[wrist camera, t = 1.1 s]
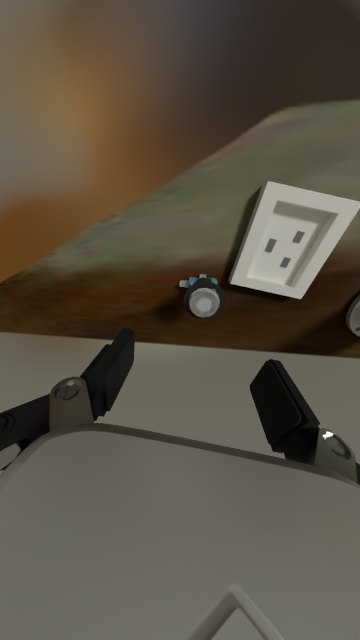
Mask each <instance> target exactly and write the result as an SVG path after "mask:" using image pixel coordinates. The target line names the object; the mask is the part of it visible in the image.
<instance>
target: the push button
mask: <svg viewBox="0 0 360 640" xmlns="http://www.w3.org/2000/svg"><path fill="white" fill-rule="evenodd" d="M182 283H183V284H182ZM182 285H183V286H182ZM180 287H186V288H188V289H187V291H186V293H185V295H184V307H185V309H186V311H187V312H188V313H189V314H190V315H191V316H193V317H194V318H197V319H210V318H213V317H215V316H216V315H218V314H219V313H220V312H221V310H222V309H223V307H224V304H225V296H224V293H223V291H222V289H221V288H220V287H219V286H218V285H217V280H216V278H206V275H205V274H200V278H193V277H190V278H189V280H186V281H180ZM216 291H217V292H218V294H219V297H218V294H217V293H216ZM190 294H191V296H190V298H189V295H190Z"/></svg>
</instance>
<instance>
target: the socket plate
mask: <svg viewBox="0 0 360 640" xmlns="http://www.w3.org/2000/svg"><path fill="white" fill-rule="evenodd" d="M359 208H360V202H358V201H354V200H350V199H345V198H341V197H336V196H332V195H327V194H323V193H318V192H314V191H309V190H305V189H300V188H296V187H292V186H287V185H283V184H278V183H274V182H269V181H268V182H266V183H265V184H264V185H262V187H261V190H260V192H259V195H258V198H257V201H256V204H255V206H254V209H253V212H252V215H251V218H250V220H249V223H248V226H247V229H246V232H245V234H244V237H243V240H242V243H241V246H240V249H239V251H238V254H237V257H236V260H235V263H234V265H233V268H232V271H231V274H230V277H229V279H228V281H229V282H230V284H234V285H239V286H243V287H248V288H253V289H257V290H262V291H266V292H271V293H275V294H280V295H284V296H289V297H293V298H298V299H301V298H302V297H303V295H304V294H305V292H306V291H307V289H308V287H309V286H310V284H311V283H312V281H313V280H314V278H315V277H316V275H317V273H318V272H319V270H320V269H321V267H322V266H323V264H324V263H325V261H326V260H327V258H328V256H329V255H330V253H331V252H332V250H333V249H334V247H335V246H336V244H337V242H338V241H339V239H340V238H341V236H342V235H343V233H344V232H345V230H346V229H347V227H348V225H349V224H350V222H351V221H352V219H353V218H354V216H355V215H356V213H357V211H358V210H359Z"/></svg>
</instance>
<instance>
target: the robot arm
mask: <svg viewBox="0 0 360 640" xmlns="http://www.w3.org/2000/svg"><path fill="white" fill-rule="evenodd" d="M346 324H347V326H348V328H349V329H350V330H351V332H353V333H354V334H356V335H357V336H360V294H359V296H358V297H357V298H356V299H355V300H354V301H353V303H352V304H351V306H350V307H349V310H348V312H347V315H346ZM134 343H135V332H133V330H132V329H127V328H123V329H122V331H121V332H120V333H119V335H118V336H117V337H116V338H115V340H114V341H113V342H112V344H111V345H109V344H107V345H105V346H104V348H103V349H102V350H101V351H100V353H99V354H98V355H97V356H96V357H95V359H94V360H93V361H92V362H91V364H90V365H89V366H88V367H87V368H86V370H85V371H84V372H83V373H82V375H81V376H80V377H70V378H66V379H64V380H62V381H60V382H59V383H57V384H56V385H55V386H54V387H53V388H52V390H51V392H50V394H48V395H45V396H43V397H40V398H38V399H35V400H32V401H30V402H28V403H25V404H22V405H20V406H17V407H15V408H12V409H9V410H7V411H5V412H2V413H0V471H2V470H4V471H3V473H2V474H1V475H0V640H360V465H359V464H358V463H357V462H356V460H355V456H354V453H353V451H352V450H351V448H350V447H349V446H348V444H347V443H346V442H345V441H344V440H343V439H342V438H341V437H340V436H338V435H337V434H336V433H334V432H333V431H331V430H328V429H325V428H322V429H319V427H318V425H319V424H320V422H319V421H318V419H317V418H316V416H315V415H314V413H313V412H312V410H311V408H310V407H309V405H308V404H307V402H306V401H305V399H304V398H303V396H302V394H301V393H300V392H299V390H298V388H297V387H296V385H295V384H294V382H293V381H292V379H291V377H290V376H289V374H288V373H287V371H286V370H285V368H284V367H283V365H282V364H281V362H280V361H277V360H272V359H270V360H269V361H266V362H265V364H264V365H263V367H262V368H261V369H260V371H259V373H258V374H257V376H256V377H255V379H254V380H253V381H252V383H251V384H250V391H251V394H252V397H253V400H254V403H255V406H256V409H257V411H258V415H259V418H260V421H261V423H262V426H263V429H264V432H265V435H266V438H267V440H268V443H269V444H270V445H271V448H272V450H273V451H274V452H278V453H284V455H285V459H282V458H277V457H273V456H268V455H263V454H259V453H254V452H249V451H245V450H240V449H235V448H230V447H225V446H220V445H215V444H211V443H205V442H201V441H196V440H191V439H186V438H181V437H176V436H171V435H166V434H161V433H156V432H151V431H146V430H141V429H135V428H129V427H124V426H118V425H110V424H102V423H94V421H95V420H97V418H98V416H103V417H104V415H105V413H106V411H110V409H111V407H112V406H113V403H114V401H115V399H116V397H117V395H118V393H119V391H120V389H121V387H122V385H123V383H124V381H125V379H126V377H127V375H128V373H129V371H130V369H131V366H132V364H133V361H134Z"/></svg>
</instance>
